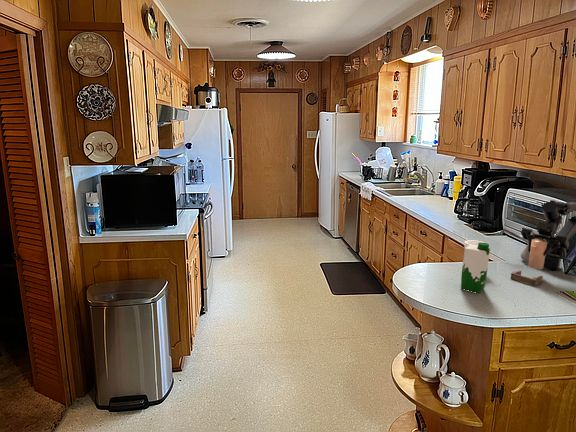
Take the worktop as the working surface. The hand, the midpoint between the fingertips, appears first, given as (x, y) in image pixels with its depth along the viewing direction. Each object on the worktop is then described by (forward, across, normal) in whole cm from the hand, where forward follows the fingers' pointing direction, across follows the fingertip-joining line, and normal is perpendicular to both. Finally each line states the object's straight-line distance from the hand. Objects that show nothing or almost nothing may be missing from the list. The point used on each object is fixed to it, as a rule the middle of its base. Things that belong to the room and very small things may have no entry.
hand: (536, 253), depth 190 cm
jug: (+5, 0, +5) cm, 7 cm away
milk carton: (+33, -8, -17) cm, 38 cm away
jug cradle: (+12, 0, +4) cm, 12 cm away
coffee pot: (-5, -14, +22) cm, 26 cm away
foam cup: (+18, -21, -2) cm, 27 cm away
